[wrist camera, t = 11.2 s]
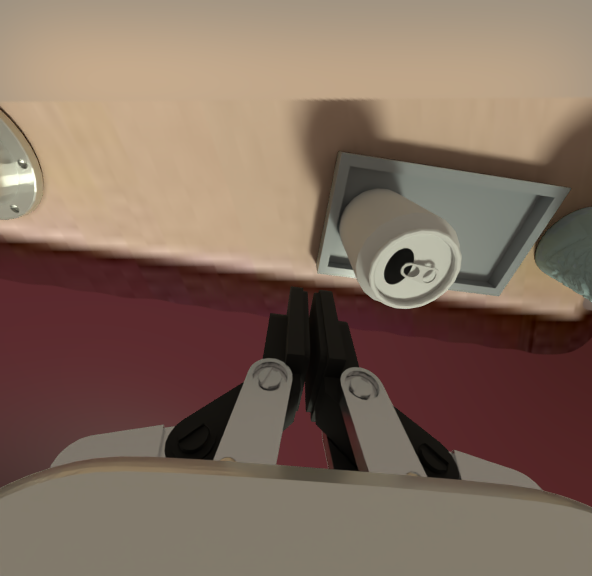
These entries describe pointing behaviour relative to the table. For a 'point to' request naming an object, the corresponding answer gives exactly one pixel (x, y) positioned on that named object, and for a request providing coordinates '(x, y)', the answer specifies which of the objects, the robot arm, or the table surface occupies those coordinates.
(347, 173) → the tray
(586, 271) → the green cup
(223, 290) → the table surface
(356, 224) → the can
